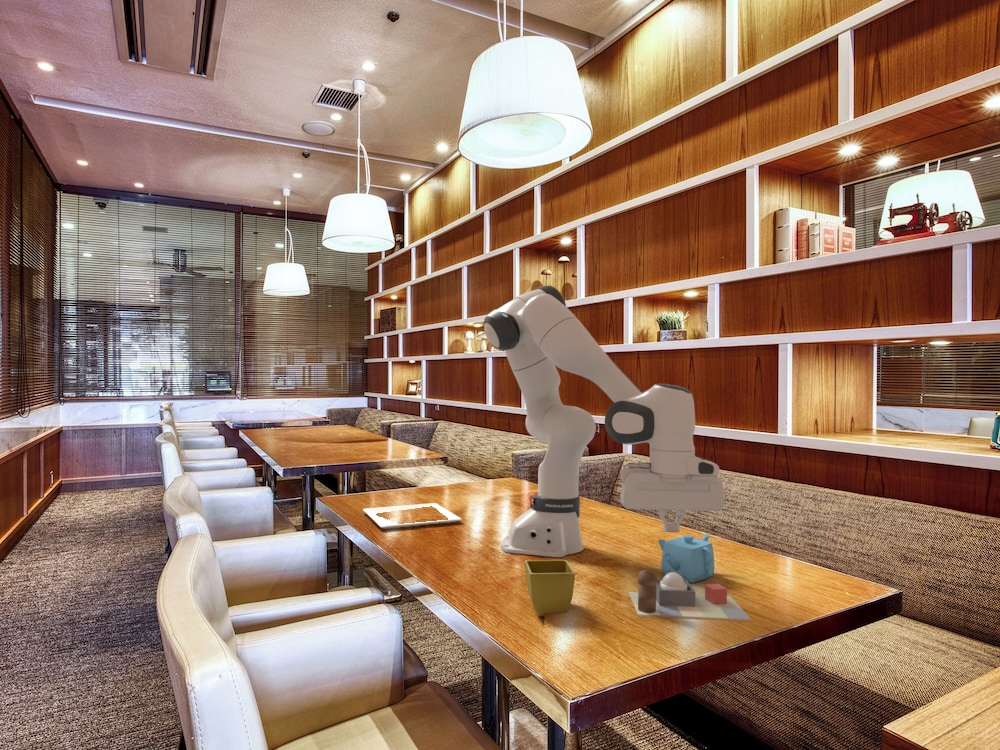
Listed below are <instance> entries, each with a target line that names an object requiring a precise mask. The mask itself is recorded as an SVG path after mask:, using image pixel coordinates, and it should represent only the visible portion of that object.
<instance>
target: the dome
mask: <svg viewBox="0 0 1000 750" xmlns="http://www.w3.org/2000/svg"><path fill="white" fill-rule="evenodd" d="M662 579H663V580H661V581H660V588H661V589H662V590H686V591H687V584H686V583H685V582H684V580H683V578H682V577H681V576H680V575H679V574H677V573H674V572H671V573H668V574H666V575H664V576H663V577H662Z"/></svg>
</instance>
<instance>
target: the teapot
mask: <svg viewBox="0 0 1000 750" xmlns="http://www.w3.org/2000/svg"><path fill="white" fill-rule="evenodd" d="M710 537H711V534H710V533H706V534H704V535H703V536H702V539H699V538H698V539H697V538H694V536H693V535H689V534H687V535H686V534H685V535H683V536H680V537H676V538H672V539H669V540H666V539H665V538H663V539H657V541H658V544H659V546H660V549H661V551H662V554H661V555H662V556H661V571H662V572H661V573H662V575H664V576H665V575H666V574H668V573H671V572H674V573H677V574H679V575H680V576H681V577H682V578H683V580H687V581H688V582H689V584H693V583H697V582H701V581H704V580H706V579H708V578H710V577H713V575H714V573H715V554H714V547H713V542H710V541H709V539H710Z"/></svg>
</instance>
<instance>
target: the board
mask: <svg viewBox="0 0 1000 750" xmlns="http://www.w3.org/2000/svg"><path fill="white" fill-rule="evenodd" d="M657 580H658V581H657V585H656V611H655V612H653V613H646V612H642V611H640V610H638V591H628V595H629V596H630V599H631V601H632V604H633V605H634V608H635V611H636V613H637V616H638V617H639V618H656V619H657V618H659V619H660V618H662V619H663V618H664V619H683V620H684V619H685V620H687V619H688V620H708V621H727V622H729V621H732V622H754V621H753V619H752V618H751V617H749V615H748V614H747V613H746V612H745V611H744V609H743V608H742V606H740V605H739V604H738V603H737V602H736V600H735V599H734V598H733V597H732V596H731V595H727V604H714V605H713V604H712V603H710V602H709V601H707V600H706V599H705V594H697V593H696V590H695V589H694V588H693V586H692V585H691V583H690V582H688V581H687V580H684V582H685V583H686V584H687V591H686V590H662V589H661V588H660V581H661V580H663V578H657Z"/></svg>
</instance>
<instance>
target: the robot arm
mask: <svg viewBox="0 0 1000 750" xmlns="http://www.w3.org/2000/svg"><path fill="white" fill-rule="evenodd" d="M482 325H483V331H484V334H485V336H486V339H487V340H488V341H489V343H490V345H491V346H492V347H493V348H494V349H495V350H498V351H500V352H502V351H503V352H505V354H506V358H507V361H508V363H509V366H510V368H511V370H512V373H513V375H514V377H515V379H516V382H517V384H518V387H519V389H520V391H521V394H522V396H523V399H524V403H525V404H524V405H525V410H526V417H525V429H526V431H527V433H528V434H529V435H530V436H532V437H533V438H534V439H536V440H537V441H539V442H542V443H546V444H547V448H546V451H545V452H546V453H545V456H544V458H543V460H542V461H541V463H540V464H539V466H538V469H537V477H538V478H537V494H535V493H530V495H529V496H528V500H529V504H530V506H529V507H530V508H529V509H528V510H526V511H525V512H523V513H522V514H521V515H519V516H518V517H517V518H516V519H514V520H513V522H512V523H511V526H510V529H509V535H508V536H505V537H503V539H502V540H501V545H500V548H501V550H503V552H506V553H509V554H521V555H532V556H541V557H542V556H543V557H553V558H562V557H566V556H567V555H571V554H572V555H573V554H576V553H579V552H580V553H581V552H582V551H583V550H584V549H585V548H584V544H583V539H582V535H581V529H580V519H579V518H580V515H581V499H580V498H581V497H580V495H579V482H580V481H579V480H580V478H579V477H580V475H579V474H580V465H581V462H582V458H583V455H584V451H585V448H586V447H587V445H589V444H590V442H591V441H592V440H593V438H594V436H595V433H596V429H597V428H596V421H595V419H594V416H593V415H592V414H591V413H590V412H588V411H587V410H585V409H584V408H580V407H578V406H573V405H566V404H563V402H562V400H561V397H560V391H559V389H560V384H561V376H560V374H559V371H558V369H560V370H562V371H564V372H568V373H570V374H574V375H578V376H581V377H583V378H585V379H587V380H589V381H591V382H592V383H594V384H595V385H597V387H599V388H600V389H601V390H602V392H604V393H605V394H606V395H607V397H608V398H610V400H611V401H612V402H613V404H611V405H610V406H609V407H608V409H607V410H606V413H605V416H604V427H605V430H606V433H607V434H608V436H609V437H610V438H611V439H612V440H613V441H615V442H616V443H617V444H622V445H640V444H643V443H644V444H648V445H649V462H628V463H627V464H625V465H622V466H621V469H620V471H619V473H620V474H619V475H620V476H619V478H620V482H621V483H622V484H621V485H622V486H621V490H620V503H621V505H622V506H623V507H624V508H625V509H627V510H650V511H651V510H656V511H657V514H658V516H659V518H660V520H661V522H662V531H663V532H664V533H680V530H681V529H680V525H681V524H682V522H683V520H684V519H685V517H686V511H690V512H691V511H692V512H693V511H695V512H697V511H698V512H699V511H701V512H721V511H722V509H724V507H725V493H724V492H725V491H724V484H723V482H722V480H721V478H720V476H718V475H719V473H720V466H719V465H718V464H717V463H715V462H713V461H711V460H708V459H705V458H703V457H700V456H696V455H695V454H696V446H695V445H694V433H695V429H696V411H695V402H694V396H693V393H692V392H691V391H690V389H688V388H686V387H684V386H682V385H681V386H680V385H675V384H671V383H670V384H669V383H655V384H654V385H652V387H650V388H649V389H647V390H645V391H643V390H641V389H640V388H639V387H638V386H637V385H636V384H635V383H634V382H633V381H632V380H631V378H630V377H628V376H627V374H626V373H624V371H623V370H622V369H621V368H620V367H619V366H618V365H617V364H616V363H615V362H614V360H613V359H611V357H610V356H609V355H608V354H607V352H605V350H603V348H602V347H601V346H600V345H599V344H598V342H597V341H596V339H595V338H594V337H593V336H592V335H591V333H590V332H589V331H588V329H586V327H585V326H584V324H583V323H582V322H581V321H580V320H579V319H578V318H577V316H576V315H575V314H574V313H573V312H572V311H571V310H570V309H569V308H568V307H567V304H566V301H565V298H564V296H563V295H562V293H561V292H560V291H559V290H558V289H557V288H556V287H555V286H552V285H542V286H539V287H536V288H535V289H534V290H529V291H528V292H525V293H522V294H520V295H519V296H516V297H515V298H513V299H511V300H510V301H508V302H506V303H505V304H503V305H502V306H500V307H499V308H497V309H493V310H492V311H491V312H488V314H487V315H486V316H485V317H484V320H483V324H482ZM556 367H557V368H556ZM668 511H675V513H676V515H677V516H676V518H675V519H674V521H668V520H667V518H666V517H665V516H667V515H668V514H667V513H668Z"/></svg>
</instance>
